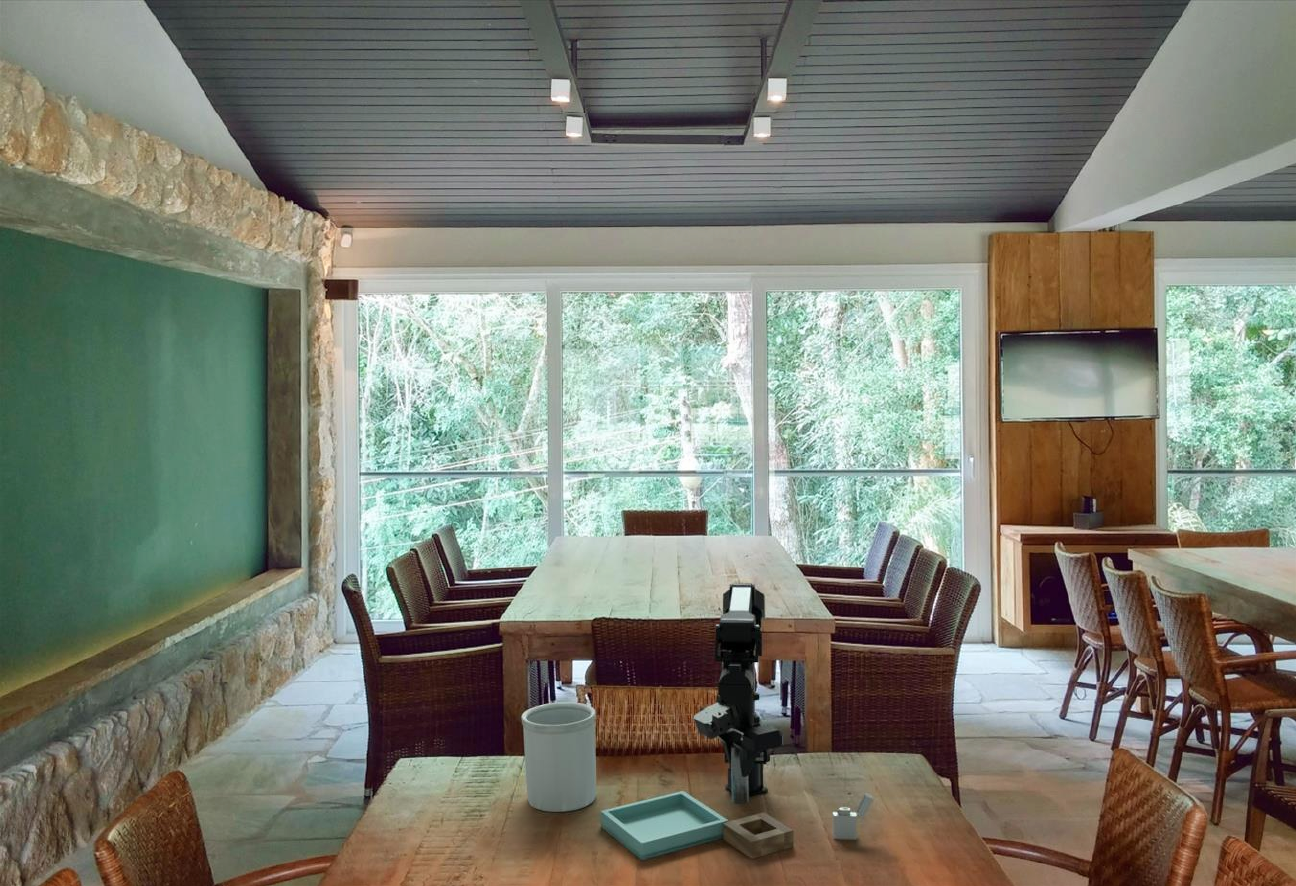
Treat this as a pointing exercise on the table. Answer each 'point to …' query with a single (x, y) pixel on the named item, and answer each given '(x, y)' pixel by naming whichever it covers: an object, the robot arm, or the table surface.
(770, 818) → the pin holder
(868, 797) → the lighter
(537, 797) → the utensil holder
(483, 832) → the table surface
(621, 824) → the tray
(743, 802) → the pin
